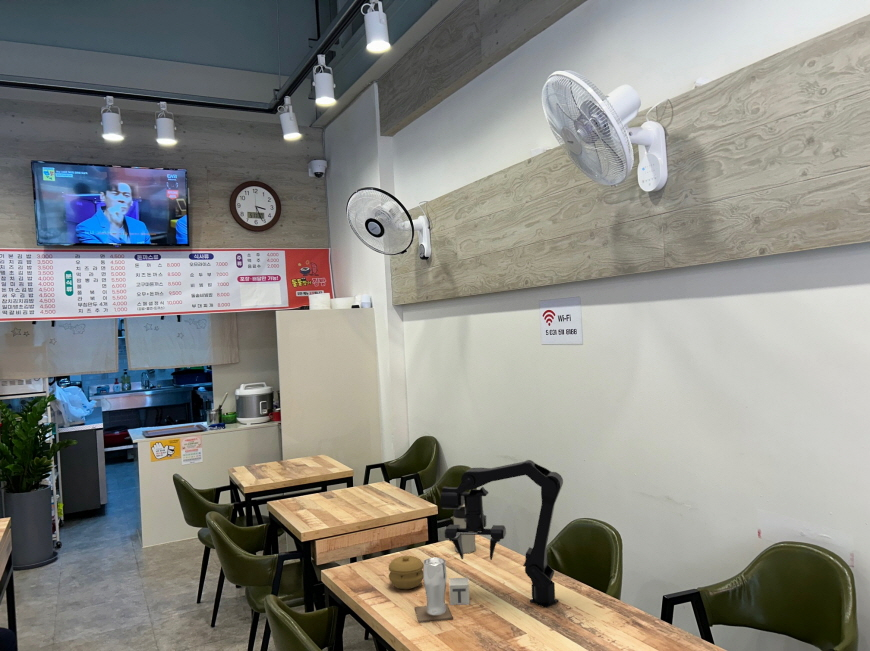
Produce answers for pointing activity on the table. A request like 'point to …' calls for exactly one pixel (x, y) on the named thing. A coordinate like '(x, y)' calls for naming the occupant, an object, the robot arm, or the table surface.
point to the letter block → (459, 591)
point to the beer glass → (435, 585)
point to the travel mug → (459, 517)
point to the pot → (406, 572)
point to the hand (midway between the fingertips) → (476, 559)
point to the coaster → (424, 617)
